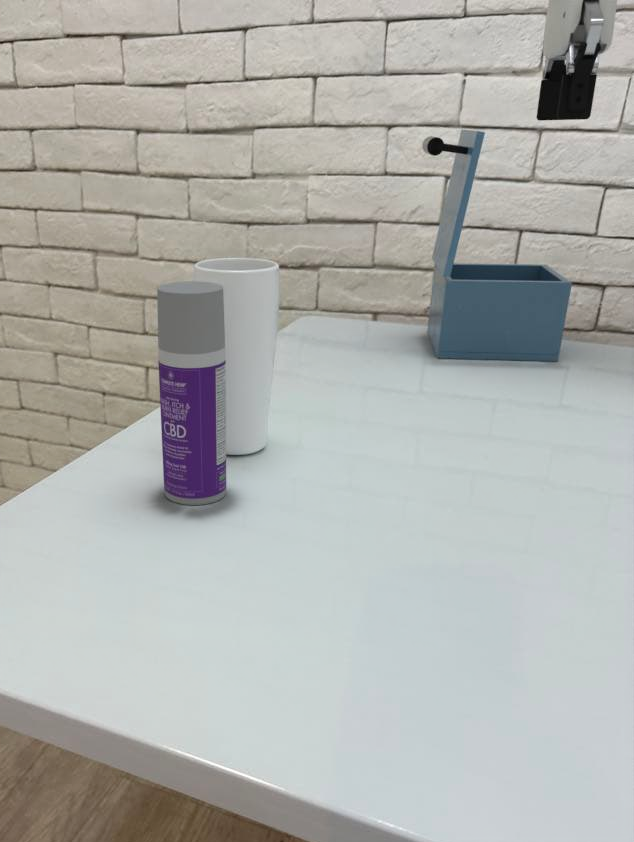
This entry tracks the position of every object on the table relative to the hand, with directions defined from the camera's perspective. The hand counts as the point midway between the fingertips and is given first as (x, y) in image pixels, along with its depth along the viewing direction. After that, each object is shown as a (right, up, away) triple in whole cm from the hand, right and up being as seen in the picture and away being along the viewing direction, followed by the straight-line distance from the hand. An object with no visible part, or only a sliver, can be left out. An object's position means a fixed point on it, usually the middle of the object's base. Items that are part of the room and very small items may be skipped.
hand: (561, 119), depth 88 cm
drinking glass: (-35, -37, -18) cm, 54 cm away
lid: (-9, -7, +5) cm, 13 cm away
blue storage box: (-4, -22, +12) cm, 25 cm away
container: (-38, -42, -26) cm, 63 cm away
